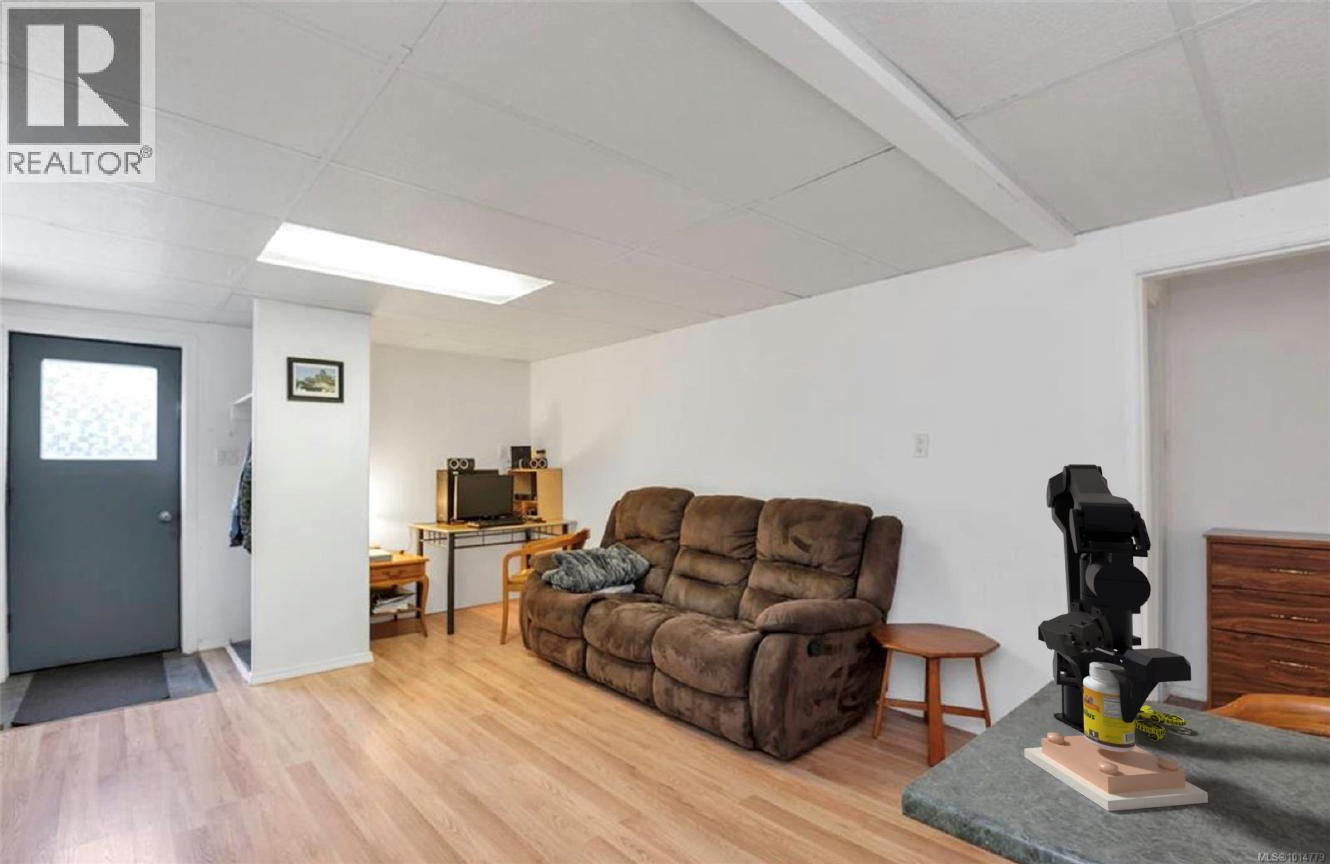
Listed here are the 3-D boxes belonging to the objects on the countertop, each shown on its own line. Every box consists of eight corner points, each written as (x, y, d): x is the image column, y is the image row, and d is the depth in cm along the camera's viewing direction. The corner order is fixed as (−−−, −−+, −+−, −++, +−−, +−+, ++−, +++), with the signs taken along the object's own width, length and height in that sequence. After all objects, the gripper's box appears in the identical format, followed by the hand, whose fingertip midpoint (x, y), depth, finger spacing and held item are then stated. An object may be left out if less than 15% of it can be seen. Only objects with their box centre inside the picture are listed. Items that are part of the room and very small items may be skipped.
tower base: (1024, 756, 90) (1024, 728, 90) (1111, 750, 92) (1110, 722, 92) (1108, 810, 76) (1107, 776, 76) (1207, 802, 78) (1206, 769, 78)
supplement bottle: (1080, 732, 88) (1079, 657, 88) (1129, 739, 86) (1127, 663, 86) (1088, 748, 83) (1086, 669, 83) (1140, 757, 81) (1138, 675, 81)
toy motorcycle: (1160, 721, 93) (1106, 702, 99) (1158, 747, 93) (1104, 727, 99) (1190, 709, 100) (1138, 692, 106) (1188, 734, 100) (1136, 716, 105)
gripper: (1004, 582, 93) (1005, 690, 92) (1112, 613, 75) (1115, 748, 74) (1071, 581, 95) (1073, 687, 94) (1193, 610, 76) (1197, 742, 76)
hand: (1108, 713), depth 84 cm, fingers closed on supplement bottle, 5 cm apart
